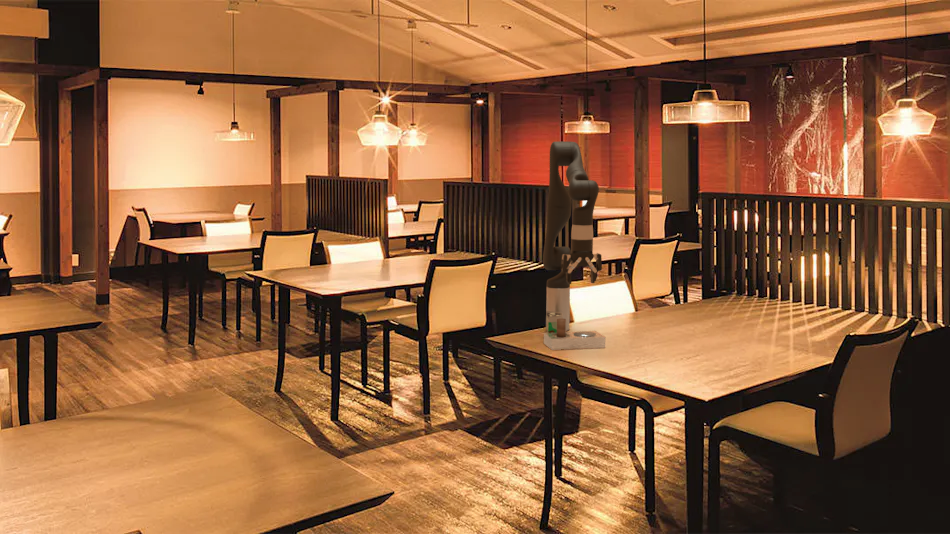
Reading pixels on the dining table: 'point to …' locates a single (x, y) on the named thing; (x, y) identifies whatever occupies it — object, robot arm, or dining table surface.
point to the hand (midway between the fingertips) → (581, 283)
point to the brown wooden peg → (561, 327)
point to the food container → (552, 321)
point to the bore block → (574, 340)
